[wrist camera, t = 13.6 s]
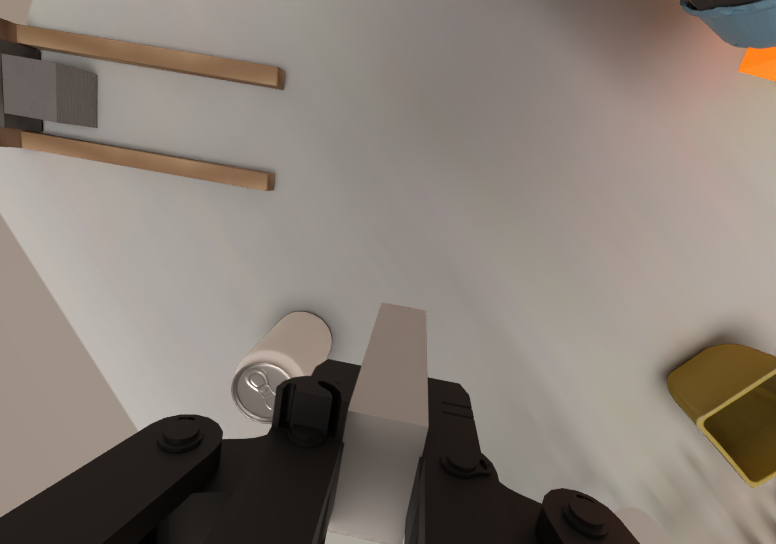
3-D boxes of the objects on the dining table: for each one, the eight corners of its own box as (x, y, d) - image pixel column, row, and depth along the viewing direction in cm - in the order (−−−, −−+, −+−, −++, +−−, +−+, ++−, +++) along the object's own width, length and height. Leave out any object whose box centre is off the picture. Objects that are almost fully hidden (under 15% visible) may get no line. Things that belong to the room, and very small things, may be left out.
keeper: (50, 67, 42) (1, 53, 37) (98, 75, 42) (55, 62, 37) (51, 119, 43) (4, 112, 38) (97, 127, 43) (56, 122, 38)
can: (312, 299, 45) (274, 344, 34) (343, 349, 46) (317, 408, 35) (263, 327, 47) (210, 379, 35) (295, 374, 48) (254, 440, 36)
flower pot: (765, 381, 44) (851, 434, 35) (690, 430, 45) (754, 491, 37) (715, 321, 43) (790, 359, 34) (640, 372, 44) (693, 422, 36)
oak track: (16, 27, 41) (-39, 8, 36) (284, 72, 40) (266, 58, 35) (21, 145, 44) (-29, 142, 39) (273, 189, 43) (254, 192, 38)
